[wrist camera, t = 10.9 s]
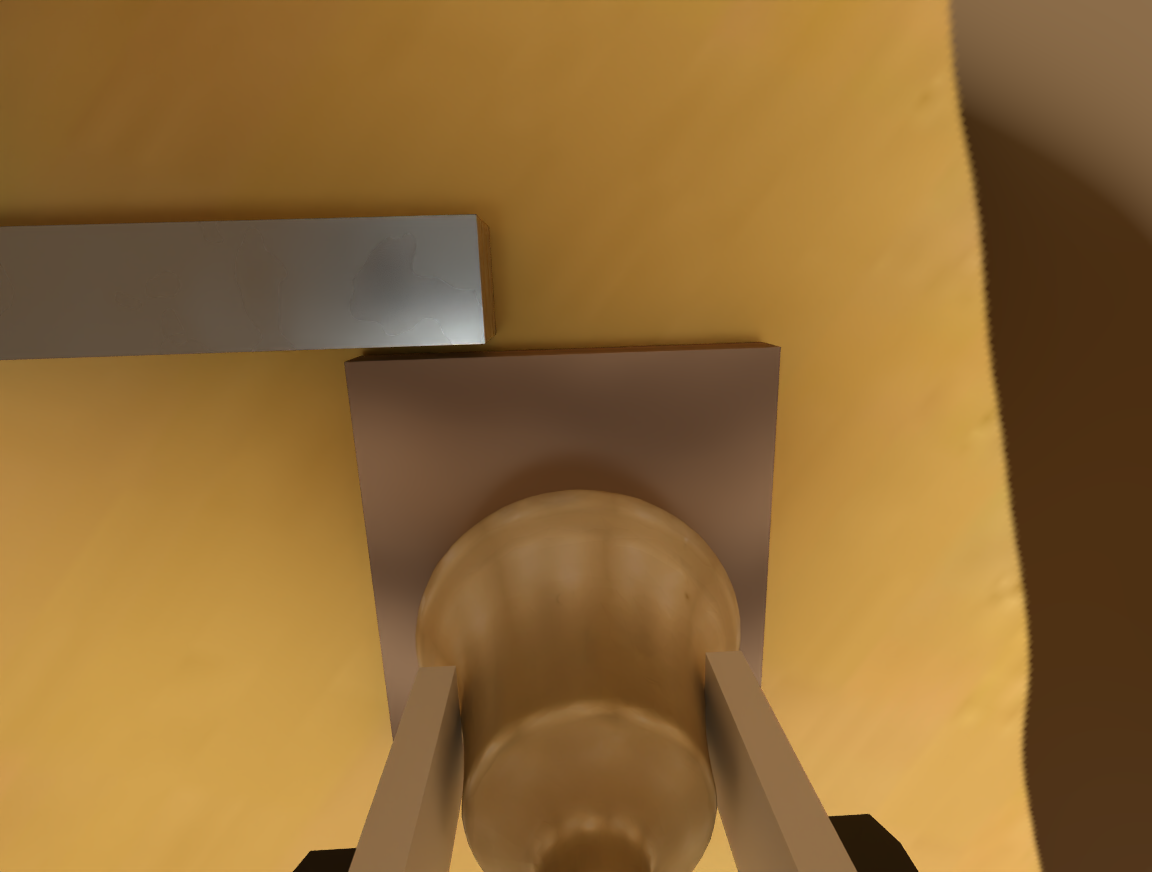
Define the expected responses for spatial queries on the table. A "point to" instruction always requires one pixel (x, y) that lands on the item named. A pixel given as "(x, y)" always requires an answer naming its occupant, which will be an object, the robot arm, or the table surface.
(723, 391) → the walnut board
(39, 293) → the silver c-shaped bracket
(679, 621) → the hand bell
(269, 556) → the table surface
